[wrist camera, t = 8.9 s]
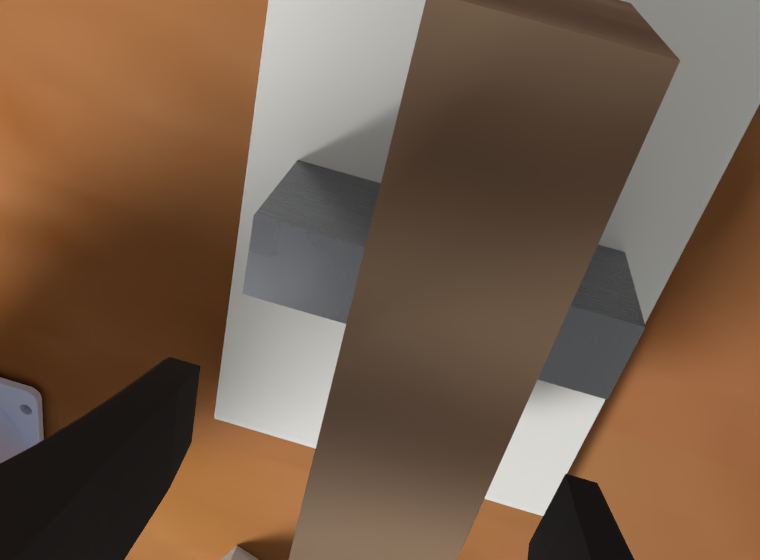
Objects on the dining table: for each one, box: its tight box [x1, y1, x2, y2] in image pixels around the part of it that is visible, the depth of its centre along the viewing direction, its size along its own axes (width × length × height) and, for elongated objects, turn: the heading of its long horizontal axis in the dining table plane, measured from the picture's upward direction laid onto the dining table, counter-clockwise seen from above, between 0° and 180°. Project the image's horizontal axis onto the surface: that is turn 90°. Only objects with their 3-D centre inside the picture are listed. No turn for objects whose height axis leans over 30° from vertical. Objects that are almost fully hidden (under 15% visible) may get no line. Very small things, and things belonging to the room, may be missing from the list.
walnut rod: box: [288, 0, 680, 560], centre depth 16 cm, size 16×4×5 cm, turn 167°
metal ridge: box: [243, 160, 646, 400], centre depth 20 cm, size 2×10×4 cm, turn 77°
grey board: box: [214, 0, 760, 516], centre depth 22 cm, size 20×13×1 cm, turn 167°
